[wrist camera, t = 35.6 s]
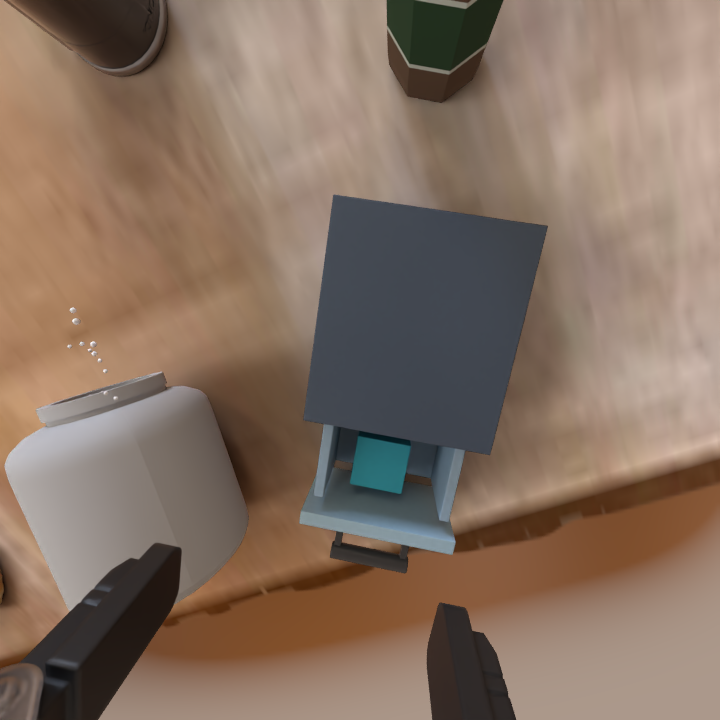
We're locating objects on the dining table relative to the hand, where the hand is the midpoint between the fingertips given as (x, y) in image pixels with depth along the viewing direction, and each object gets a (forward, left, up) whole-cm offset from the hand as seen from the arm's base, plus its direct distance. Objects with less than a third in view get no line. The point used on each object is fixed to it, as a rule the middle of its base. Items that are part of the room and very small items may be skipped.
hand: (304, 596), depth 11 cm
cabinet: (+3, +7, -25) cm, 26 cm away
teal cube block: (+2, -5, -23) cm, 24 cm away
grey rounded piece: (-21, -8, -25) cm, 34 cm away
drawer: (+3, -5, -24) cm, 25 cm away
